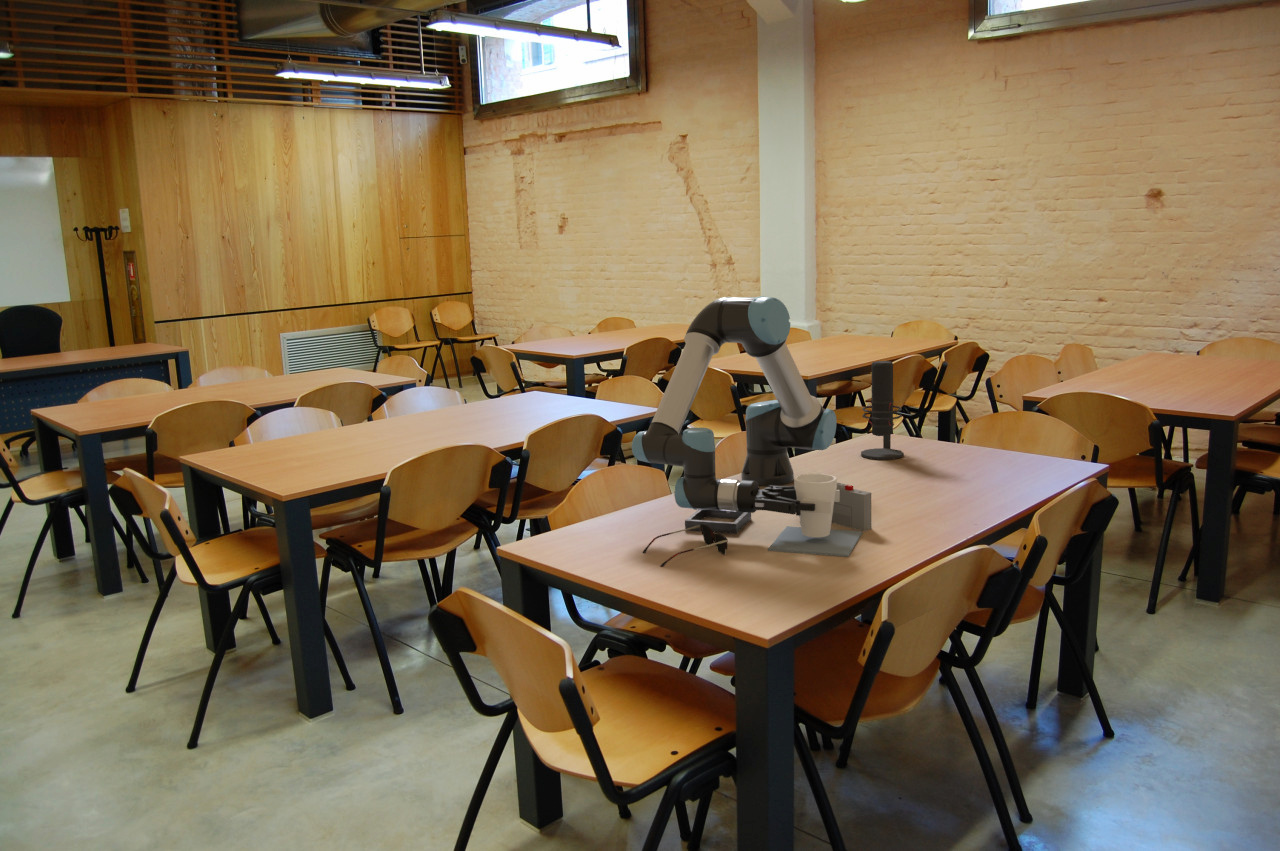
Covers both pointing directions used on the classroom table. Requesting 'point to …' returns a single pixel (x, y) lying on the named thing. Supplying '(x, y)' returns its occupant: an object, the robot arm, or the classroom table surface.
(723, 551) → the sunglasses
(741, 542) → the classroom table surface
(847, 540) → the rubber mat
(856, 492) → the cassette player
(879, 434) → the microphone
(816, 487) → the foam cup
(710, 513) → the holder collar
